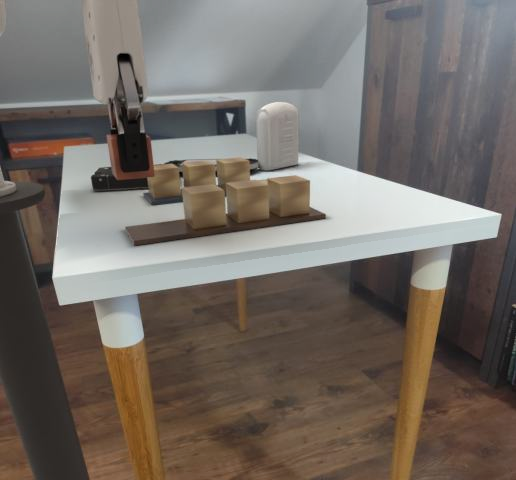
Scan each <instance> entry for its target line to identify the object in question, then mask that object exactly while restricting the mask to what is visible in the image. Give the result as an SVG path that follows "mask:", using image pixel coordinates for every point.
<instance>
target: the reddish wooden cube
mask: <svg viewBox="0 0 516 480" xmlns="http://www.w3.org/2000/svg"><path fill="white" fill-rule="evenodd" d="M116 135H117V134H113V135H111V134H106V142H107V150H108V155H109V163H110V167H111V169H112V173H113V175H114V176H115V177H116V179H117V180H124V179H136V178H147V177H155V173H154V165H155V164H154V156H153V147H152V139H151V136H150V135H148V134H146V139H147V148H148V157H149V165H150V169H149V170H148V171H140V172H128V173H124V172H123V171H122V170H121V165H120V159H119V152H118V145H117V138H116Z"/></svg>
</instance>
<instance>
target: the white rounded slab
mask: <svg viewBox="0 0 516 480" xmlns="http://www.w3.org/2000/svg"><path fill="white" fill-rule="evenodd" d="M255 117H256V118H255V122H256V123H255V125H256V127H255V128H256V156H257V157H256V159H257V160H258V161H259V166H258V168H257V169H259V170H260V171H266V172H269V171H274V170H278V169H282V168H287V167H291V166H296V165H298V163H299V132H300V131H299V130H300V128H299V127H300V126H299V122H300V116H299V111H298V109H297V107H296V106H295V105H293V104H292V103H289V102H285V101H275V102H271V103H267V104H266V105H264V106H262V107H261V108H260V109H258V110H257V113H256V116H255Z"/></svg>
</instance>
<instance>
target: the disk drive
mask: <svg viewBox="0 0 516 480" xmlns="http://www.w3.org/2000/svg"><path fill="white" fill-rule="evenodd" d="M156 165H164V163H158V164H156ZM173 165H175V166H176V164H173ZM90 180H91V186H92V190H93V191H99V192H100V191H127V190H133V189H134V190H135V189H149V187H148V180H147V178H136V179H124V180H117V179H116V177H115V176H114V175H113V173H112V169H111V166H103V167H98V169H97V170H95V172H94V174H92V175H90Z"/></svg>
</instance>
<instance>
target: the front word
mask: <svg viewBox="0 0 516 480" xmlns="http://www.w3.org/2000/svg"><path fill="white" fill-rule="evenodd" d="M266 179H267V184H265V183H263V182H260V181H258V180H259V179H250V180H247V181H238V182H229V183H226V196H225V191H224V190H223V189H221V188H220V187H218V186H216V185H217V184H216V185H215V184H211V185H202V186H193V187H184V186H183V187H181V189H182V195H183V201H182V203H183V213H184V218H182V219H175V220H165V221H161V222H160V221H159V222H151V223H145V224H137V225H136V224H135V225H130V226H129V225H128V226H124V230H125V233H126V234H127V236H128V238H129V239H130V241H131V243H132V244H133V246H134V247H135V246H141V245H142V246H143V245H150V244H157V243H162V242H169V241H170V242H171V241H177V240H184V239H191V238H198V237H205V236H212V235H219V234H227V233H233V232H240V231H247V230H253V229H262V228H268V227H274V226H281V225H289V224H295V223H303V222H310V221H317V220H323V219H326V216H327V214H326V213H325V212H322V211H320V210H318V209H315V208H313V207H311V205H310V204H311V180H310V179H308V178H304V177H302V176H299V175H297V174H294V175H293V174H292V175H285V176H276V177H275V176H274V177H268V178H266Z"/></svg>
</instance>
